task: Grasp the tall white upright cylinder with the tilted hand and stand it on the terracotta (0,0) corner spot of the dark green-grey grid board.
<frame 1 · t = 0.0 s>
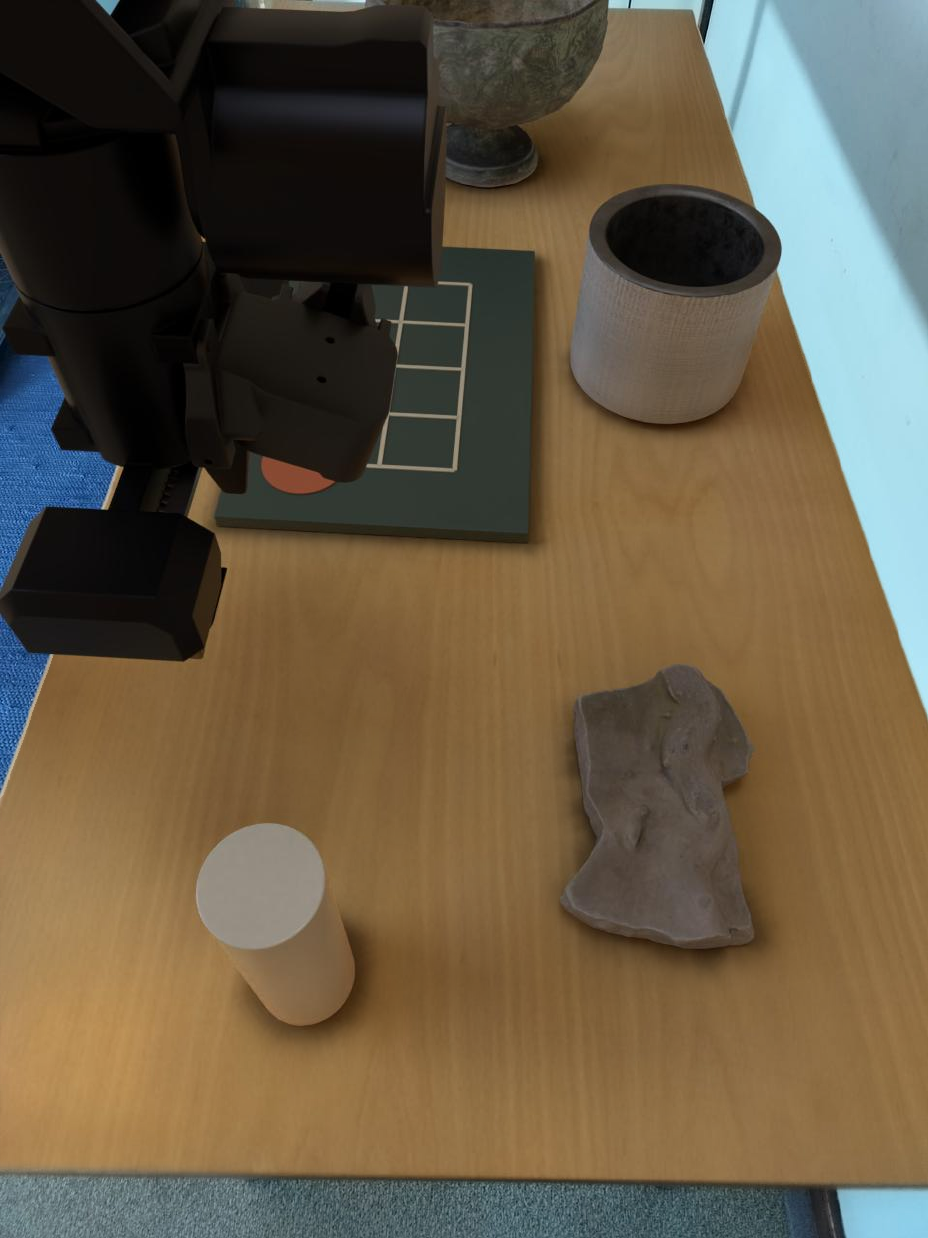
hand: (215, 568, 41), 13 cm above the table, tool pointing down, fingers open, 9 cm apart
white upright cylinder: (306, 973, 43), on the table
planter: (652, 374, 68), on the table
stone: (654, 817, 48), on the table
board: (395, 377, 67), on the table
bowl: (482, 156, 85), on the table
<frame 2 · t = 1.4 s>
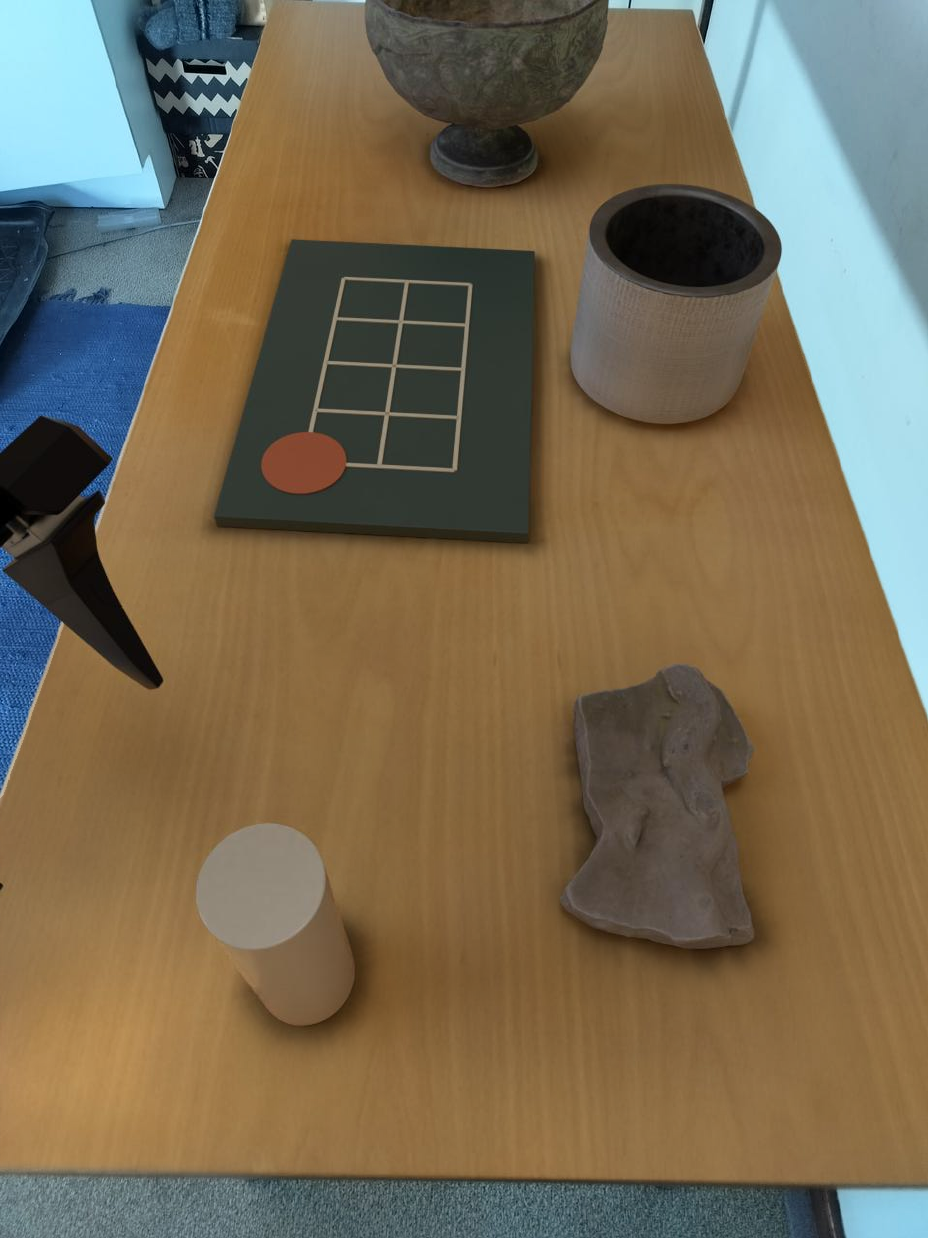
hand: (82, 780, 34), 13 cm above the table, tool tilted 45°, fingers open, 9 cm apart
nothing on the table moved.
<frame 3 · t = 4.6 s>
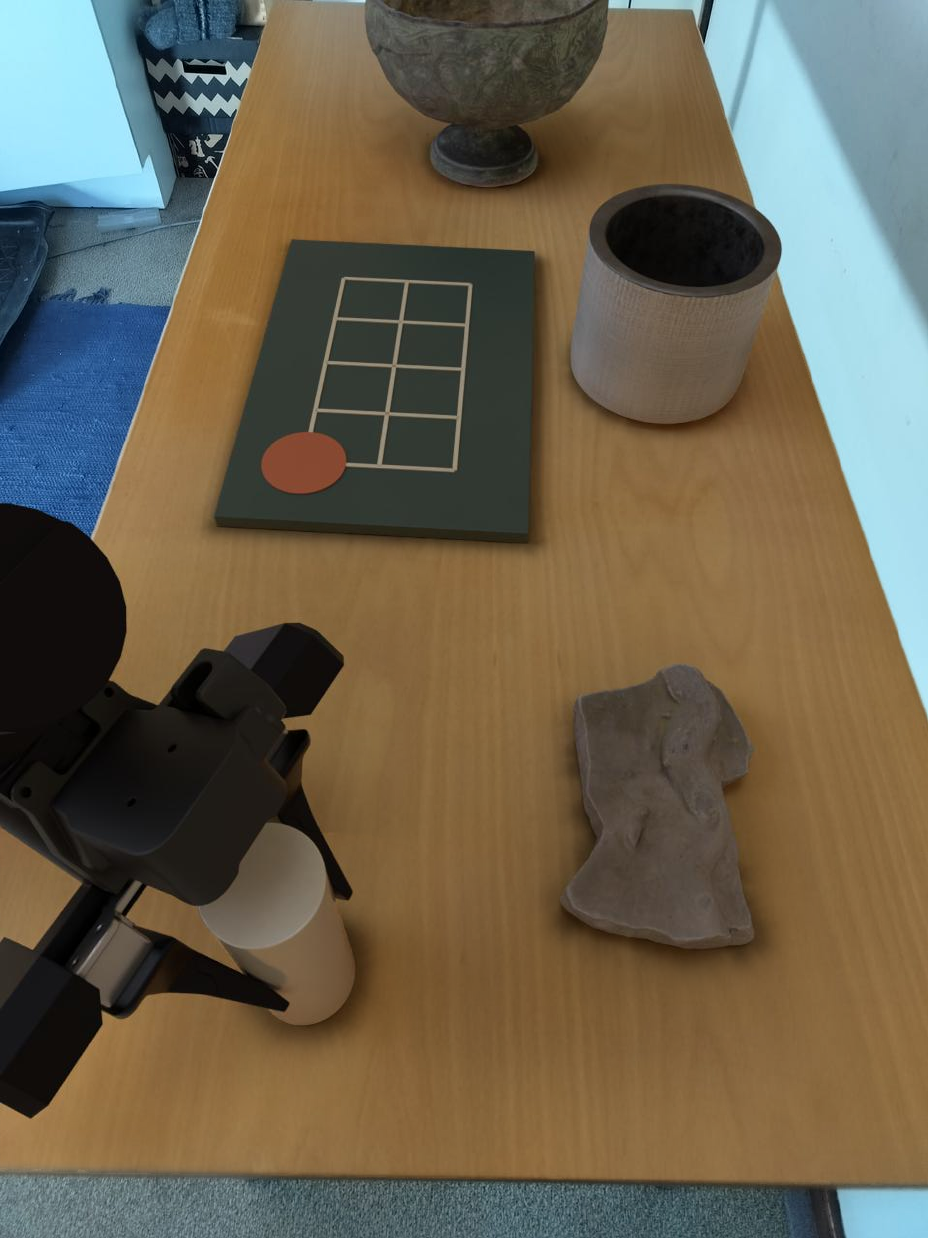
hand: (315, 950, 38), 7 cm above the table, tool tilted 45°, fingers closed on white upright cylinder, 4 cm apart
white upright cylinder: (306, 973, 43), on the table, touching gripper
everything else where it was.
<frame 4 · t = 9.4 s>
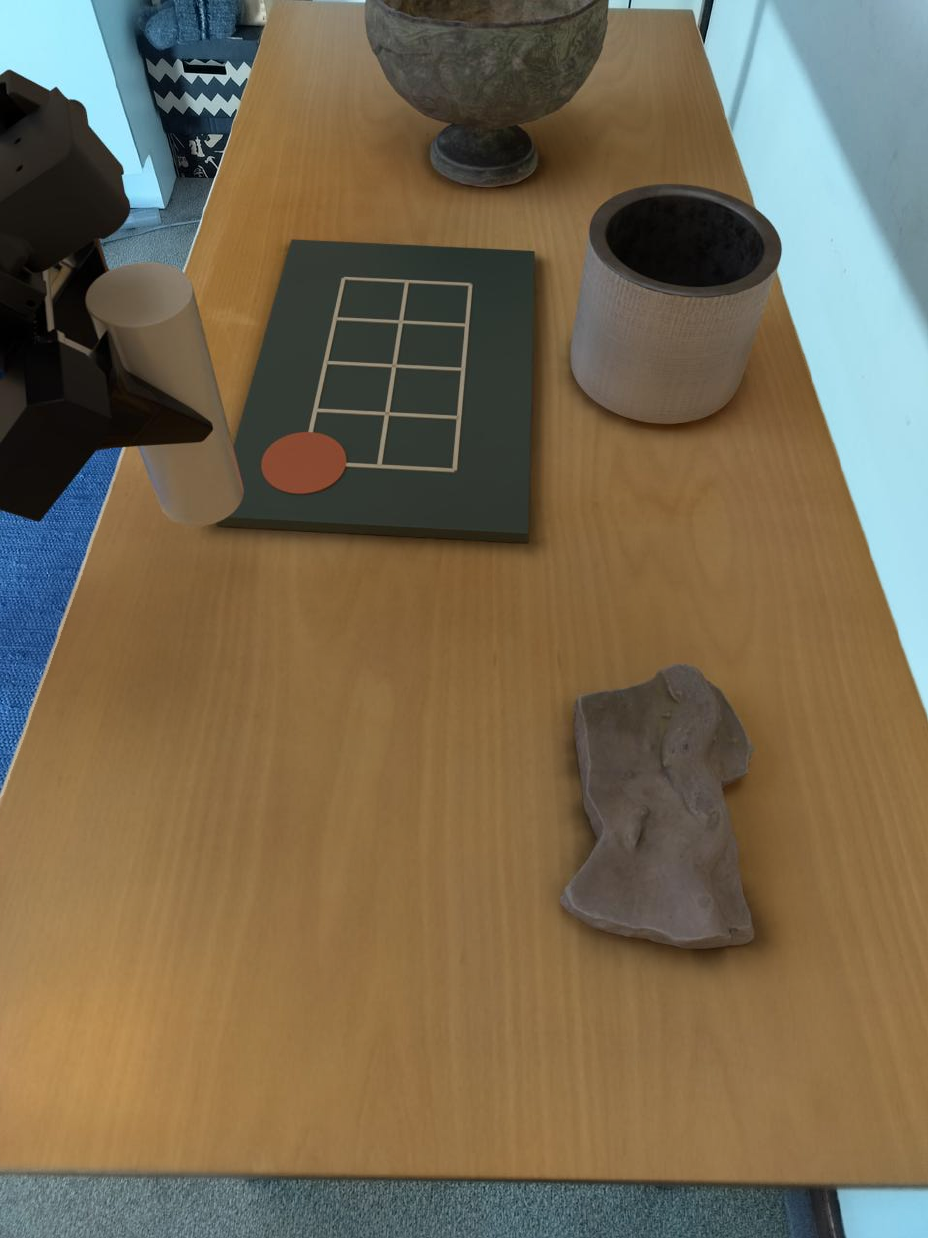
hand: (201, 399, 45), 14 cm above the table, tool tilted 45°, fingers closed on white upright cylinder, 4 cm apart
white upright cylinder: (201, 495, 51), point 7 cm above the table, touching gripper
everything else where it was.
when the fingers open (8 cm above the table, at t = 14.2 s): white upright cylinder stays where it is, resting on board.
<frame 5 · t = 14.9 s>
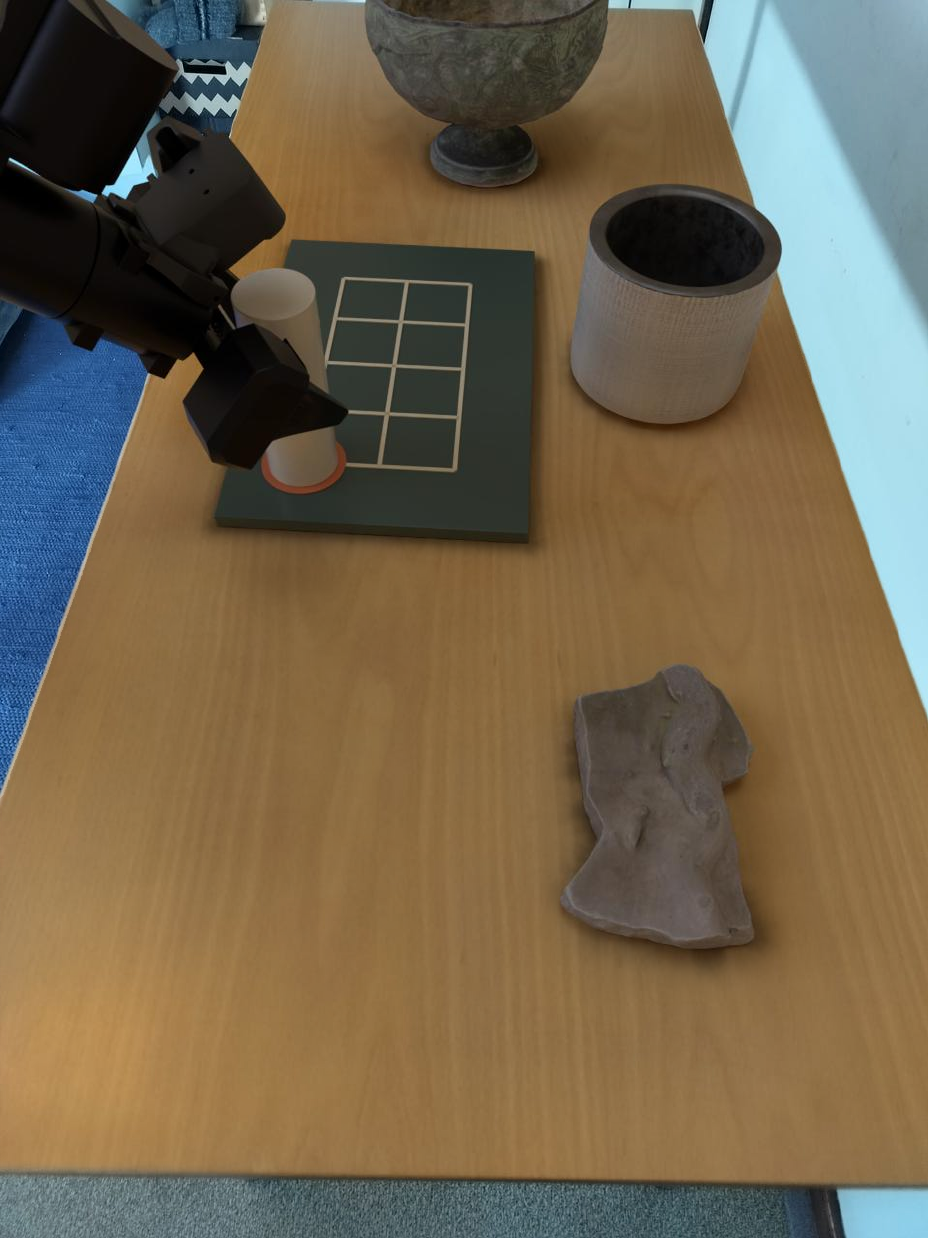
hand: (310, 369, 55), 8 cm above the table, tool tilted 45°, fingers open, 9 cm apart
white upright cylinder: (303, 461, 61), point 1 cm above the table, touching board
everything else where it was.
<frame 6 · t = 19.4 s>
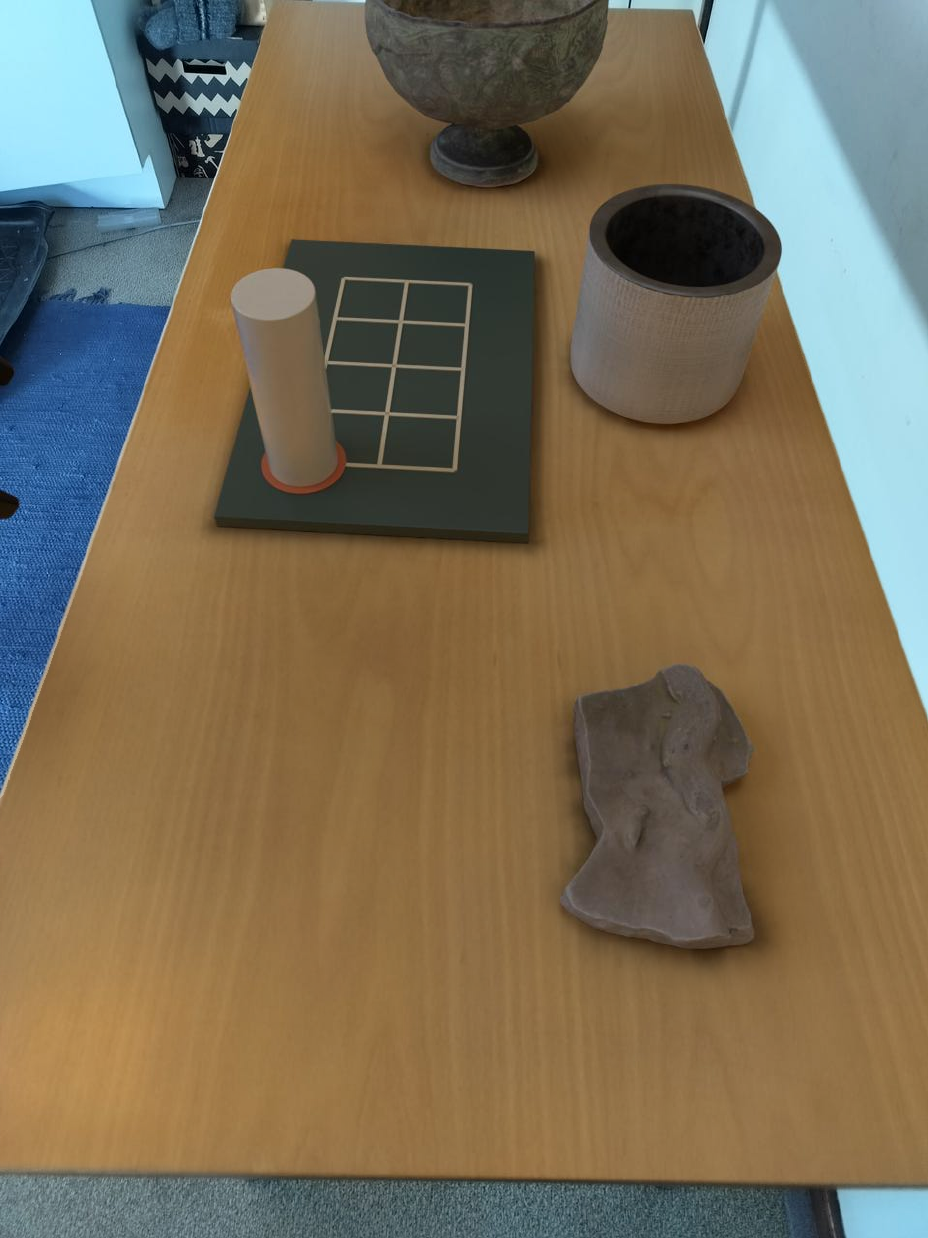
hand: (13, 439, 44), 14 cm above the table, tool tilted 45°, fingers open, 9 cm apart
nothing on the table moved.
at the end: white upright cylinder 0.0 cm from the target spot on the board, point 1.1 cm above the board's base; white upright cylinder tilted 0°; the gripper is holding nothing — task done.
